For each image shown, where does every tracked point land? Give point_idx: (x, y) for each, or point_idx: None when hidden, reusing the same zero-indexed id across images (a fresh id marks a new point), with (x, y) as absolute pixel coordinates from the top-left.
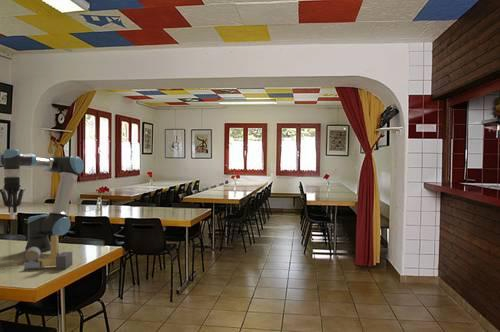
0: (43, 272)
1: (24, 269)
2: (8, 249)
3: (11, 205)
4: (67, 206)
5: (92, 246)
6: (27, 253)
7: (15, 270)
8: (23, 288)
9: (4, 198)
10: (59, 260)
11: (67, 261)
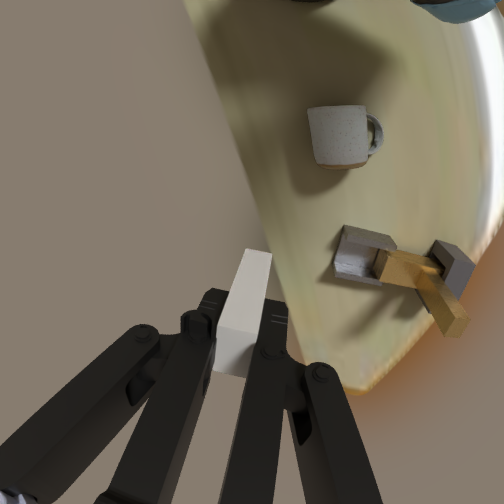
0: (384, 304)
1: (332, 265)
2: None
3: (209, 359)
4: None
5: None
6: (327, 168)
7: (304, 257)
8: (344, 389)
9: (99, 443)
10: None
11: None
